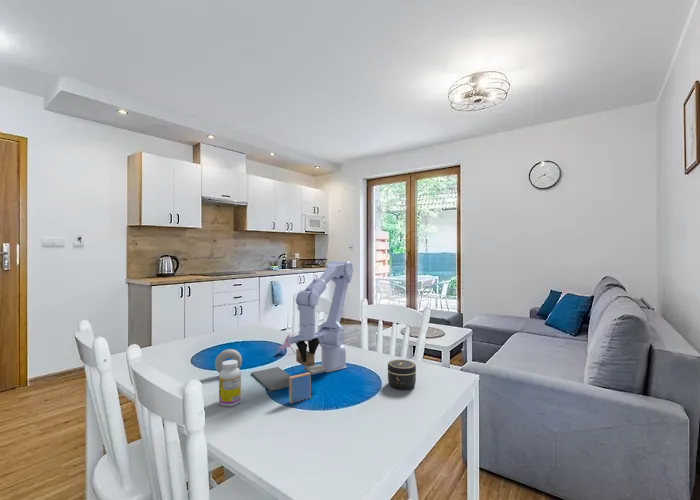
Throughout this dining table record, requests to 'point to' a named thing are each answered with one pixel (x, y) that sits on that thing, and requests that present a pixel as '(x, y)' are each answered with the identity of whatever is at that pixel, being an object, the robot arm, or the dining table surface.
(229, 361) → the supplement bottle
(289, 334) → the lily
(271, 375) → the mat
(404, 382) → the jar
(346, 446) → the dining table surface
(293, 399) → the tile
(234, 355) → the donut
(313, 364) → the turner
